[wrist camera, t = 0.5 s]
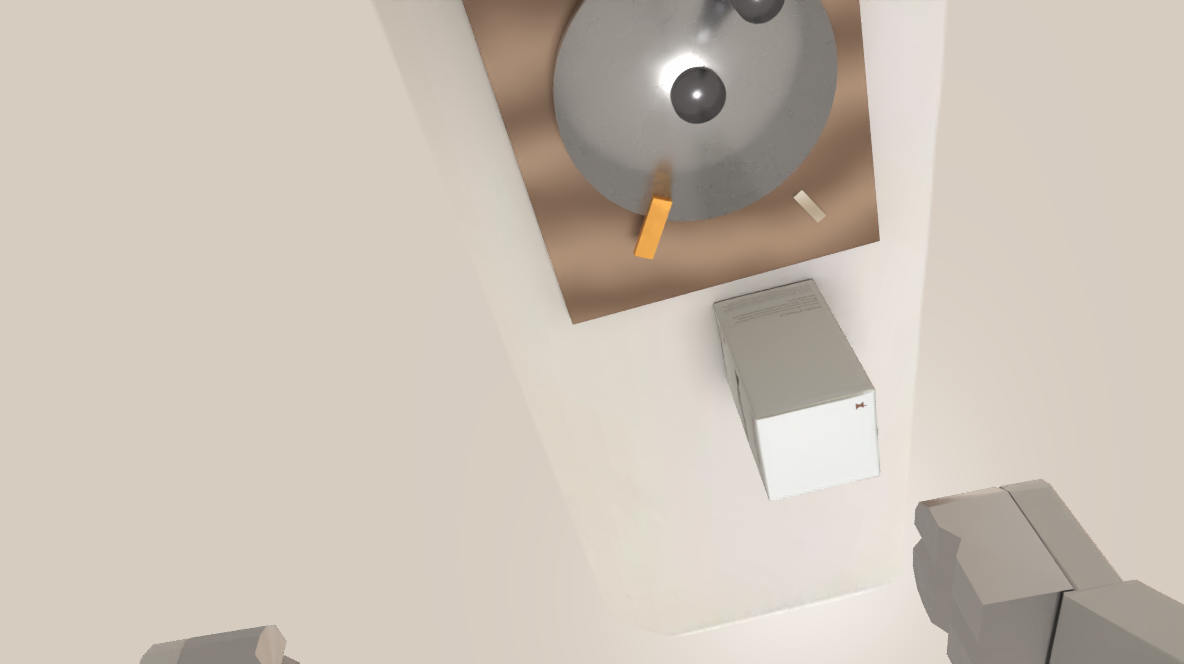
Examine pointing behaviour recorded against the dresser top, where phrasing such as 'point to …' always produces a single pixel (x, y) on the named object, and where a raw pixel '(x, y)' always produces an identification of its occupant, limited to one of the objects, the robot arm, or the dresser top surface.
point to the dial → (692, 101)
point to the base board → (686, 248)
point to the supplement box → (798, 390)
